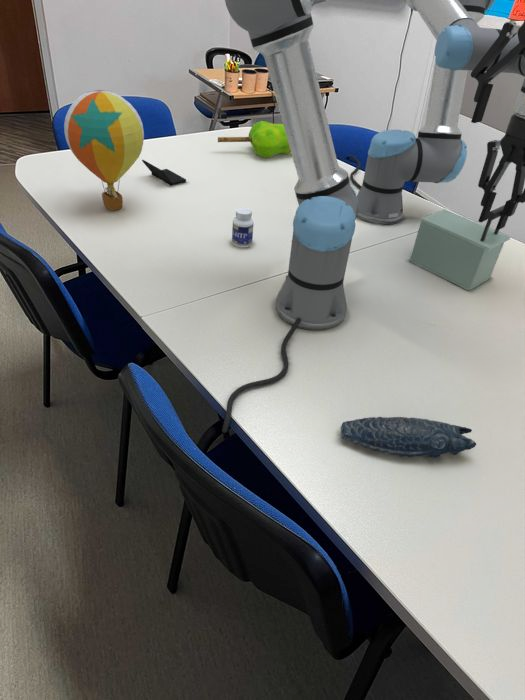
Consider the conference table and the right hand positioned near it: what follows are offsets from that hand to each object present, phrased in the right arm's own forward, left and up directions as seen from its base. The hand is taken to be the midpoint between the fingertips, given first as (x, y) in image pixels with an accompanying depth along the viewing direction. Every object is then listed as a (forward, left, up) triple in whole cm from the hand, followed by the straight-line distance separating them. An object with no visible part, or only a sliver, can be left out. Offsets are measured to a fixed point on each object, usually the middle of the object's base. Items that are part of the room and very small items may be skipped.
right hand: (491, 223), depth 119 cm
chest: (-6, -2, -15) cm, 16 cm away
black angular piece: (-79, -56, -15) cm, 98 cm away
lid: (-5, -2, -4) cm, 7 cm away
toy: (-61, -76, -15) cm, 99 cm away
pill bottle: (-33, -48, -15) cm, 60 cm away
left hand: (+7, -13, +23) cm, 27 cm away
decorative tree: (-97, -17, -15) cm, 99 cm away
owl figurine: (+39, -48, -15) cm, 64 cm away
